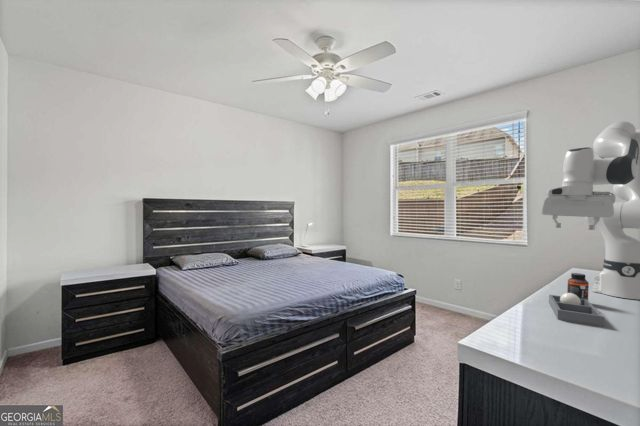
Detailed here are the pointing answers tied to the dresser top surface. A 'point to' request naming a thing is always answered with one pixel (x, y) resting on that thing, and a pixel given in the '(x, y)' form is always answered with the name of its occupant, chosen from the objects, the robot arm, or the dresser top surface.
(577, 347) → the dresser top surface
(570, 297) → the ceramic ball
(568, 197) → the robot arm
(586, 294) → the supplement bottle
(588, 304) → the divided tray
